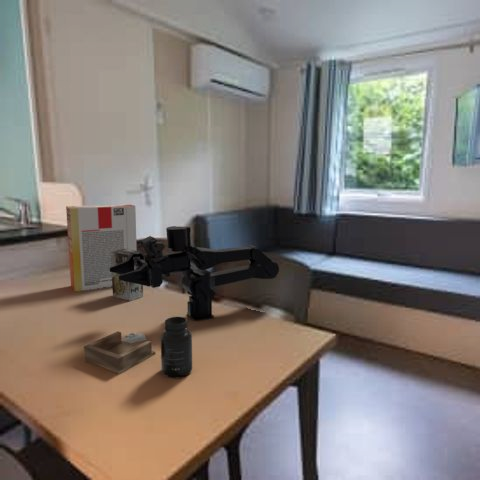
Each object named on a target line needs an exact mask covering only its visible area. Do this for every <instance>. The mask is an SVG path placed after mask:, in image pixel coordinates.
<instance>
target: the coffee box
mask: <svg viewBox="0 0 480 480" xmlns="http://www.w3.org/2000/svg"><path fill="white" fill-rule="evenodd" d="M131 252H135V250H129V249H120V250H116V251H113V252H111V267H113V266H115V265H117V264H119V263H121V262H124V261H126V260H127V258H128V257H129V254H130V253H131ZM137 252H139V253H141V254H142V255H143V251H140V250H137ZM119 275H122V274H121V273H114V272H112V287H111V288H112V297H113V298H118V299H122V300H126V301H130V302H132V301H134V300H138V299H140V298H143V297H144V285H140V284H136V283H131V282H126V281H121V280H119Z"/></svg>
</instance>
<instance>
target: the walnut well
mask: <svg viewBox="0 0 480 480" xmlns="http://www.w3.org/2000/svg"><path fill="white" fill-rule="evenodd" d="M83 352H84V354H83V355H84V361H85V362H87V363H90V364H93V365H95V366H98V367H101V368H103V369H104V370H105V369H106V370H108V371H111V372H113V373H116V374H118V375H120V374H122V373H124V372H126V371H127V370H129V369H131V368H132V367H134V366H136V365H138V364H140V363H142V362H143V361H145V360H147V359H149V358H150V357H152V356H154V355H156V351H154V350H153V349H152V341H150V340H145V341H143V342H142V343H140V344H138V345H136V344H134V343H127V342H124V341H123V340H122V331H115V332H113V333H110V334H109V335H106V336H104V337H102V338H100V339H97V340H95V341H93V342H91V343H87V344H86V345H84V346H83Z"/></svg>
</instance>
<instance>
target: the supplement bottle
mask: <svg viewBox="0 0 480 480" xmlns="http://www.w3.org/2000/svg"><path fill="white" fill-rule="evenodd" d="M188 327H189V326H188V320H187V318H186V317H182V316H171V317H169V318H166V319H165V321H164V331H163V332H162V333H161V335H160V356H161V357H160V358H161V359H160V360H161V361H160V362H161V372H162V374H163V375H164V376H166V377H168V378H170V379H179V378H184V377H186V376H188V375H190V374H191V372H192V371H193V336H192V333H191V331H190V330H189V329H188Z"/></svg>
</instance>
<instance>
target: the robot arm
mask: <svg viewBox="0 0 480 480" xmlns="http://www.w3.org/2000/svg"><path fill="white" fill-rule="evenodd" d="M165 230H166V240H167V242H166V243H167V248H168V249H171V252H172V253H163V251H164V250H165V248H166V246H165V244H164V242H161V241H158V239H156V238H155V237H154V236H151V235H149V236H147V237H146V238H143V239H142V240H140V241H139V242H140V245H141V246H142V248H143V249H144V251H145V254H144V255H143V253H142V254H141V253H139V252H137V251H138V250H137V251H135V252H131V253H130V254H129V257H128V258H127V260H126V261H124V262H121V263H119V264H117V265H115V266H113V267H110V268H109V269H110V272H114V273H121V274H122V275H119V280H121V281H126V282H131V283H136V284H140V285H143V287H144V286H145V287H148V288H149V287H151V288H153V289H155V288H159V287H161V286H162V284H163V283H164V281H163V276H165V277H167V278H168V277H170V276H171V275H173V274H177V273H182V275H183V277H182V279H181V286H182V288H183V289H184V290H185V291H186V293H187V295H189V296H188V301H187V313H186V314H187V315H188V316H189V318H190V319H192V321H203V320H209V319H213V318H215V315H214V314H212V313H213V305H212V304H213V300H214V299H215V296H216V292H215V291H214V290H213V289H215V288H216V287H217V288H218V287H221V286H225V285H231V284H234V283H239V282H243V281H249V280H251V279H252V280H253V279H258V280H273V279H275V278H277V277H278V274H279V272H280V267H279V264H278V263H277V262H275V261H274V260H272V259H270V257H268V256H267V255H265V253H263V252H262V250H261V249H259V248H258V247H257V246H254V245H252V244H251V245H246V246H238V247H228V248H219V249H212V248H208V247H207V248H206V247H198V246H195V245H192V242H191V231H192V230H191V227H190V226H187V225H186V226H176V225H174V226H173V225H171V226H168V227H167V226H166V229H165ZM246 260H247V261H248V262H249V264H247V265H243V266H238V267H233V268H228V269H223V270H219V271H213V272H211V271H209V270H208V269H211V268H215V267H216V266H218V265H220V264H224V263H231V262H241V261H246ZM191 266H193V267H195V268H197V269H192V268H191Z"/></svg>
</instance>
